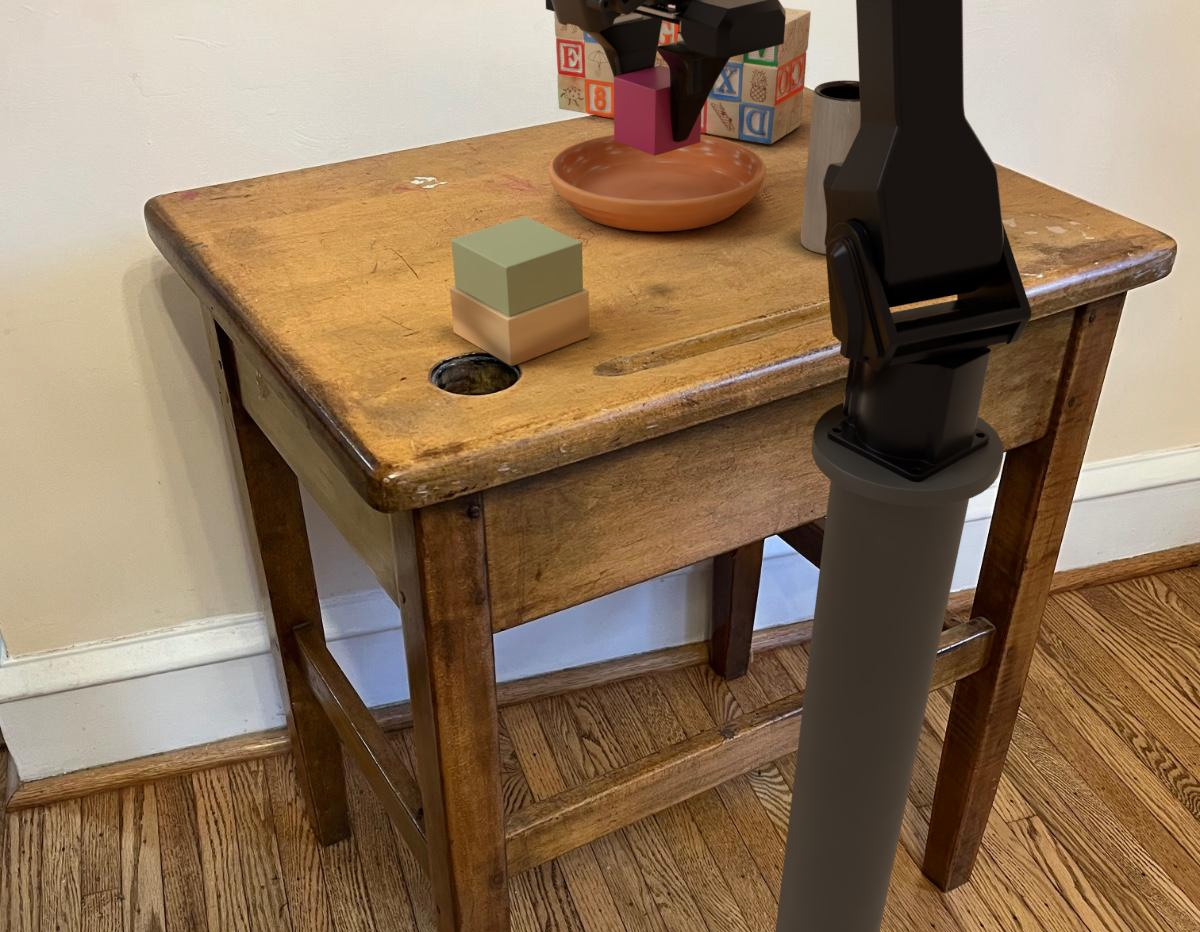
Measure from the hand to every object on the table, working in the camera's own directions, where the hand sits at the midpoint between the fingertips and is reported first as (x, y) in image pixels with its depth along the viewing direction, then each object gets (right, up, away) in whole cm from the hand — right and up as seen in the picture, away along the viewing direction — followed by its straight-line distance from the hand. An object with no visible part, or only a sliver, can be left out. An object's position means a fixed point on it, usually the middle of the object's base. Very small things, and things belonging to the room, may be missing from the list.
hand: (657, 133), depth 90 cm
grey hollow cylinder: (+12, -9, -3) cm, 15 cm away
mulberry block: (0, -1, 0) cm, 1 cm away
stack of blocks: (+3, +8, +19) cm, 21 cm away
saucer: (0, -4, +3) cm, 5 cm away
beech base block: (-9, -18, -14) cm, 24 cm away
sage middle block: (-9, -15, -16) cm, 24 cm away
